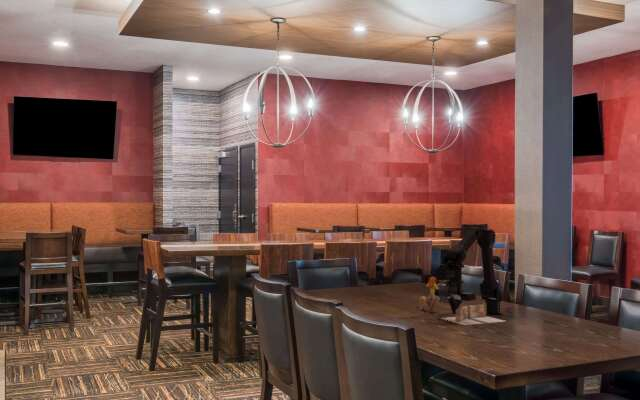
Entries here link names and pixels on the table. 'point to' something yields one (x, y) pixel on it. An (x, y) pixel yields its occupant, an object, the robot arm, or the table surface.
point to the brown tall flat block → (462, 313)
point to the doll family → (436, 287)
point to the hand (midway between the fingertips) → (454, 314)
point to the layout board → (474, 320)
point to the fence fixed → (477, 310)
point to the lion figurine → (428, 302)
